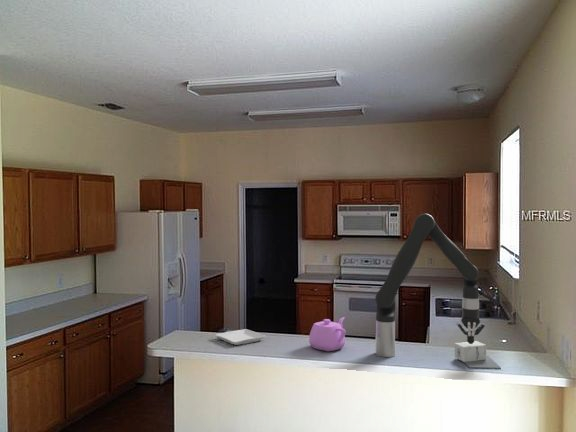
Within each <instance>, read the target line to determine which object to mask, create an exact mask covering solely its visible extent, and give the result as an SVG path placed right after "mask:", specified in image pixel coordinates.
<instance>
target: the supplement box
mask: <svg viewBox="0 0 576 432" xmlns="http://www.w3.org/2000/svg"><path fill="white" fill-rule="evenodd" d="M486 356H487V344H486V343H482V342H480V341H478V340H474V343H473V344H469V343H468V342H467V341H465V342H464V341H463V342H455V343H454V358H455V359H458V360H459V361H461V362H463V363H464V362H468V361H477V360H486Z"/></svg>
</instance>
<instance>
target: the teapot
mask: <svg viewBox="0 0 576 432" xmlns="http://www.w3.org/2000/svg"><path fill="white" fill-rule="evenodd" d="M345 318H346V317H345V316H343V317H341V318H339V319H338V322H335V321H331V319H329V318H324V319H323V320H322V321H318V322H315V323H313V325H312V327H311V330H310V332H309V339H308V342H309V344H310V346H311V347H312V348H314V349H315V350H316V349H317V350H319V351H325V352H333V351H337V350H340V349H342V348H344V346H345V345H346V337H345V336H346V332H347V331H346V329H345V328H343V321H345Z"/></svg>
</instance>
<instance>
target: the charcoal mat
mask: <svg viewBox="0 0 576 432" xmlns="http://www.w3.org/2000/svg"><path fill="white" fill-rule="evenodd" d="M463 363H465V365H466V367H468V369H483V370H484V369H485V370H489V369H490V370H502V369H501V366H500V365H499V364H498V363H496V361H495V360H494V359H492V358H491V357H490V356H489V355H486V360H477V361H468V362H463Z"/></svg>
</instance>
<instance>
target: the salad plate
mask: <svg viewBox="0 0 576 432" xmlns="http://www.w3.org/2000/svg"><path fill="white" fill-rule="evenodd" d="M214 337H215V338H216V337H217V339H220V341H221V340H222V341H223V340H224V341H223V342H226V343H228V344H230V343H231V344H230V345H233V344H234V345H233V346H241V344H242V345H246V344H250V343H255V342H258V341H259V342H260V341H263V340H264V339H265V338H266V335H265V334H262V333H260V332H256V331H253V330H250V329H247V328H243V329H238V330H232V331H226V332H221V333H216V334H215V336H214Z"/></svg>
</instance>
